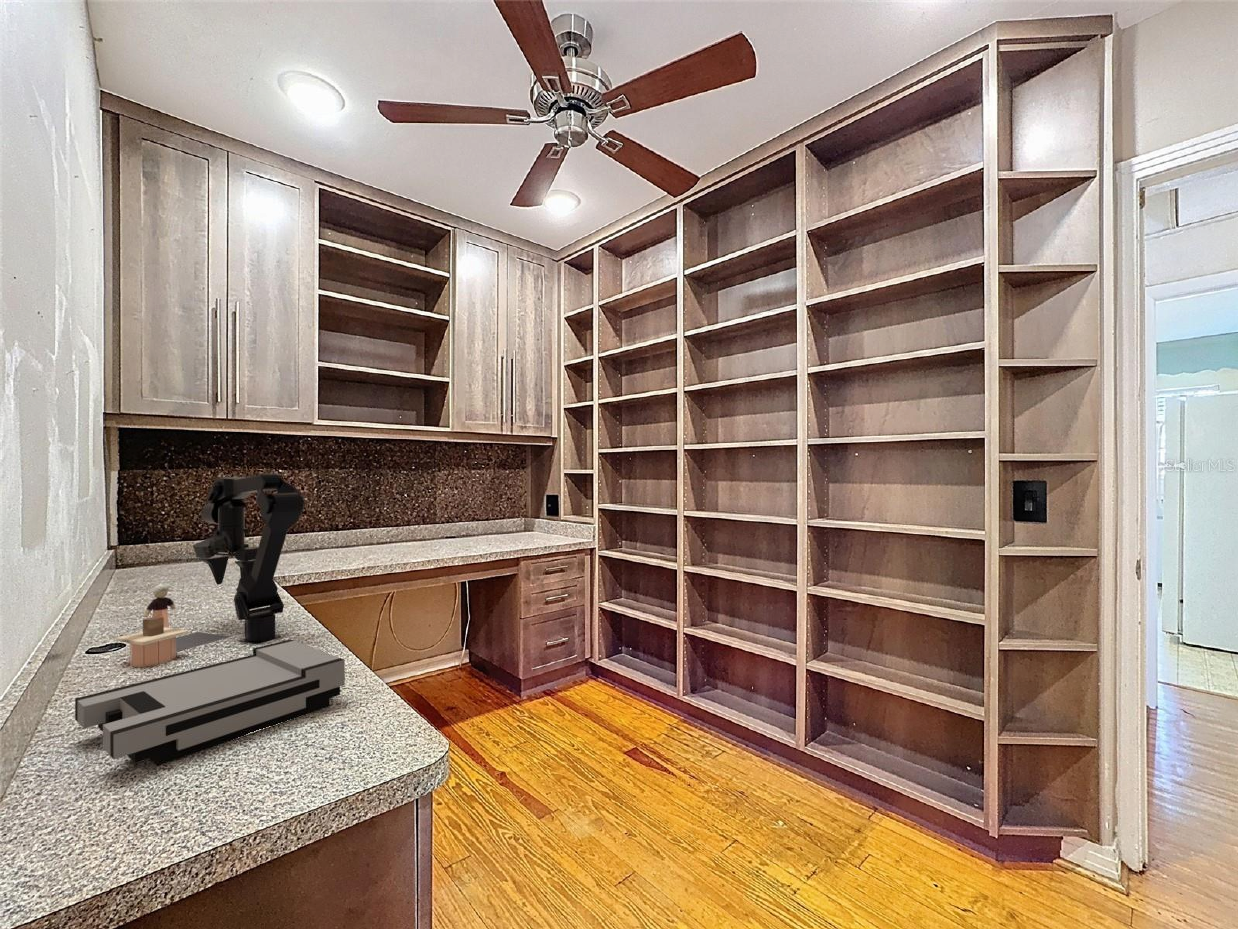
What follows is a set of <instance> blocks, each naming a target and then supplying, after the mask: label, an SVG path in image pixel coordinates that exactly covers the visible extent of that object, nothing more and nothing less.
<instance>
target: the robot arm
mask: <svg viewBox="0 0 1238 929" xmlns="http://www.w3.org/2000/svg"><path fill="white" fill-rule="evenodd" d="M265 491H276V492H277V493H276V492H275V493H274V492H273V493H268V494H266V493H265ZM252 493H257V496H256V498H255V502H256V504H257V506H258V507H259V509H260V512H259V514H260V516H261V518H262V520H263V522H264V526H263V531H262V534H261V537H260V540H259V543H258V546H250V544H249V543H246V539H245V537H246V536H245V535H246V533H249V532H250V530H249V528H247V527H245V523H246V522H245V519H246V518H245V514H246V512H245V510H246V508H248V504H247V503H246V502H245V501H244V500H245V499H246V498H248V497H250V496H251V495H252ZM205 498H206V504H205V505H204V506H203V507H202V508H201V511H200V517H201V519H202V520H203V521H204V522H206V523H208V524H215V525H217V529H214V530H213V532H212V536H211V537H209V538H205V539H204V540H202V541H199V542H198V543H195V544H193V545H192V548H193V551H194V553H195V558H198V559H199V560H200V562H203V563H205V564H207V566H208V567H209V569H210V571H211V574H212V575H213V576H212V577H213V579H214V581H215V583H216V585H217V586H218V585H222V584H223V581H224V578H225V576H226V575H225V573H226V569H227V566H228V563H229V558H230V556H231V557H234V558H235V559H236V561H234V564H236V565H237V566H238V567H239V574H240V575H239V576H240V578H239V580H238V584H237V588H235V591H236V593H235V594H234V596H233V604H234V610H235V614H236V618H237V620H239V621H242V620H243V621H244V638H242V639H239V640H238V641H239V643H244V644H245V643H246V644H253V645H259V644H263V643H266V642H269V641H272V640H275V639H278V638H281V637H282V635H281V634H276V614H281V613H283V612H284V606H285V604H284V603H283V600H282V598H281V596H280V594H279V593H278V589H279V588H278V586H277V584H276V582H275V580H274V577H275V574H276V571H277V567H278V564H279V560H280V557H281V554H282V550H283V548H284V545H285V544H284V543H285V540H286V537H287V534H288V531H289V529H291V527H293V526H294V525H295V524H296V523H297V522H298V521H299V520H300V518H301V515H302V513H303V511H304V508H305V499H304V498H303V496H302V495H301V493H300V491H299V490H298V488H296V487H295V486H293V485H292V484H290V483H288V482H287V481H285V480H284V479H283V476H281V475H280V474H278V473H259V474H256V475H252V476H247V477H246V476H232V477H231V476H229V477H227V476H225V477H223V476H222V477H217V478H216V479H215V480H214V482H213V483H212V484H211V487H210V489H209V490H208V493H207V495H206V496H205Z"/></svg>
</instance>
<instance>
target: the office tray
mask: <svg viewBox="0 0 1238 929" xmlns="http://www.w3.org/2000/svg"><path fill="white" fill-rule="evenodd" d="M345 661H346V659H343V658H341V657H338V656H336V655H333V654H332V653H331V654H330V653H328V652H325V651H322V650H320V649H317V648H314V647H312V646H309V645H306V644H303V643H301V642H299V641H296V640H293V639H287V640H282V641H278V642H273V643H270V644H265V645H262V646H257V647H253V648H252V654H251V655H247V656H242V657H239V658H234V659H229V660H227V661H226V660H225V661H222V662H219V663H218V662H217V663H215V664H209V665H205V666H202V667H197V668H194V669H188V670H186V671H182V672H177V673H172V674H169V675H165V676H161V677H157V678H153V679H149V680H145V681H141V682H136V683H133V684H129V685H128V684H127V685H124V686H120V687H116V688H112V689H108V690H104V691H100V692H96V693H92V694H88V695H83V696H80V697H75V698H74V702H75V703H74V705H75V706H74V708H75V709H74V714H75V715H74V718H75V721H76V722H77V723H78V724H79V725H80V726H81V727H82V728H83V729H88V728H90V727H94V726H97V727H98V729H99V730H100V732H102V749H103V750H104V751H105V753H107V754H108V755H109V756H110V757H111V758H112V759H113V760H115V759H119V758H122V757H126V756H127V757H128V758H129V759H130V760H131V761H132V762H133V763H134V764H138V763H140V762H143V761H148V760H150V761H151V762H152V763H153V764H154V765H155V766H156V767H159V766H163V765H165V764H166V765H167V764H169V763H171V762H174V761H177V760H179V759H183V758H185V757H189V756H191V755H195V754H197V753H200V752H203V751H206V750H208V749H212V748H215V747H217V746H220V745H223V744H226V743H229V742H231V740H232V741H234V740H233V739H235V740H237V739H236V738H238V737H241V736H244V735H246V734H248V733H250V732H254V731H256V730H259V729H263V728H266V727H269V726H272V727H274V726H273V725H275V726H277V725H276V724H278V723H281V722H284V723H286V722H285V721H287V720H290V719H293V720H294V718H295V719H298V718H300V717H299V716H301V717H303V716H302V715H304V716H306V714H307V715H310V714H312V712H313V713H315V712H318V711H321V710H324V709H327V708H329V707H330V706H331V702H330V701H331V700H330V699H331V698H335V697H338V696H340V695H341V687H343V686H345V684H346V680H345V679H346V678H345V676H346V673H345V669H346V668H345V666H346V665H345V664H346V663H345ZM309 713H310V714H309ZM297 717H298V718H297ZM290 721H291V720H290ZM287 722H288V721H287ZM281 724H282V723H281ZM278 725H279V724H278ZM269 728H270V727H269ZM246 736H247V735H246ZM244 737H245V736H244ZM241 738H242V737H241ZM238 739H239V738H238ZM228 741H229V742H228Z"/></svg>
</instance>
